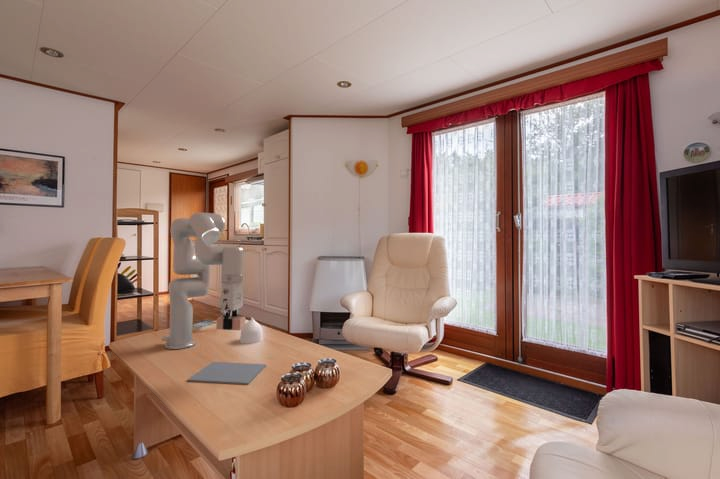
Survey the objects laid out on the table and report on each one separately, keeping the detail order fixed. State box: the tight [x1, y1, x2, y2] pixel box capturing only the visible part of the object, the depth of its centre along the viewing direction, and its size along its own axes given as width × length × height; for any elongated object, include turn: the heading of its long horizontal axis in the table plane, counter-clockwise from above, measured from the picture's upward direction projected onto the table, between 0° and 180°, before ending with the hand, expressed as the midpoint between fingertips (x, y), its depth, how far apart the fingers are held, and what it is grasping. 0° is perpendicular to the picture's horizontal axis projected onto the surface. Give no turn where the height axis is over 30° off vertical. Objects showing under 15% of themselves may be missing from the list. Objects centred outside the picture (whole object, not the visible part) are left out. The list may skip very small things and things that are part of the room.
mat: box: [186, 361, 267, 386], centre depth 126 cm, size 22×18×1 cm
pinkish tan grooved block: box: [215, 315, 246, 331], centre depth 127 cm, size 4×9×4 cm, turn 86°
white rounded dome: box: [239, 316, 264, 344], centre depth 169 cm, size 11×11×12 cm
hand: (230, 327), depth 127 cm, fingers closed on pinkish tan grooved block, 4 cm apart
